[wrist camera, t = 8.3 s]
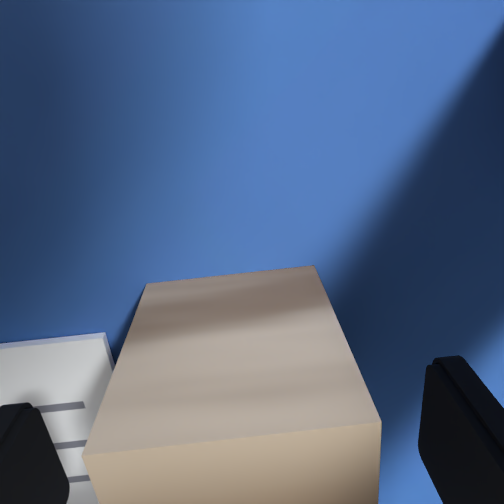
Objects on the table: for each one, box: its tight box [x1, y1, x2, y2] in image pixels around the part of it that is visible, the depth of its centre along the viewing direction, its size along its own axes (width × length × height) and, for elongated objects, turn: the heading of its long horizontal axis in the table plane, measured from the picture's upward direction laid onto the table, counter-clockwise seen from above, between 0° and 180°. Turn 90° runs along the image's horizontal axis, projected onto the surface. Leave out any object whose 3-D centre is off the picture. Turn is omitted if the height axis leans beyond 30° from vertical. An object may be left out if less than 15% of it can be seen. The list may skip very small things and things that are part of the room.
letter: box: [0, 332, 115, 504], centre depth 15 cm, size 14×10×1 cm
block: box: [81, 265, 382, 504], centre depth 11 cm, size 5×5×6 cm
